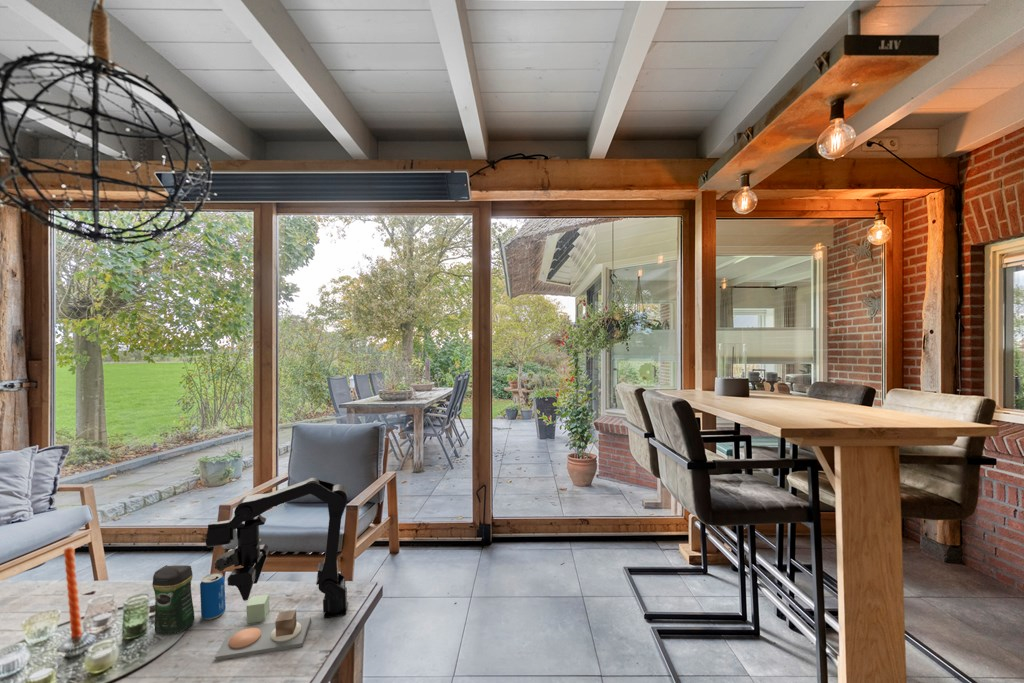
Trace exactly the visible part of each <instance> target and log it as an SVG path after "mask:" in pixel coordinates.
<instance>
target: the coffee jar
mask: <svg viewBox="0 0 1024 683" xmlns="http://www.w3.org/2000/svg"><path fill="white" fill-rule="evenodd" d="M193 576H194V575H193V570H192V566H191V565H187V564H186V565H163V566H162V567H160V568H159V569H157V570H156V571H155V572H154V573H153V576H152V583H151V584H152V589H153V591H154V598H155V599H154V600H155V602H154V606H155V607H154V608H155V610H154V612H155V613H154V632H155V633H156V634H158V635H175V634H179V633H181V632H183V631H185V630H186V629H187V630H188V628H189V627H190V626H191V625H193V623H194V621H195V620H196V619H195V609H194V603H193V596H192V594H193V593H192V580H193Z"/></svg>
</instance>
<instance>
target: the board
mask: <svg viewBox="0 0 1024 683" xmlns="http://www.w3.org/2000/svg"><path fill="white" fill-rule="evenodd" d="M311 621H312V618H311V616H309V617H301V618H296V623H297V625H296V627H295V630H294V632H293V634H291V635H285V636H278V637H276V625H275V621H274V622H270V623H268V622H267V623H262V624H256V625H249V626H241V627H234V628H231V630H230V631H229V632H228V635H227V636H226V638H225V639H224V641H223V643H222V645H221V646H220V648H219V650H218V651H217V653H216V655H215V657H214V658H215V659H214V661H221V660H226V659H227V660H228V659H232V658H239V657H244V656H251V655H252V656H253V655H257V654H263V653H271V652H277V651H282V650H288V649H294V648H300V647H303V646H304V641H305V640H306V636H307V634H308V630H309V627H310V624H311Z"/></svg>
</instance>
